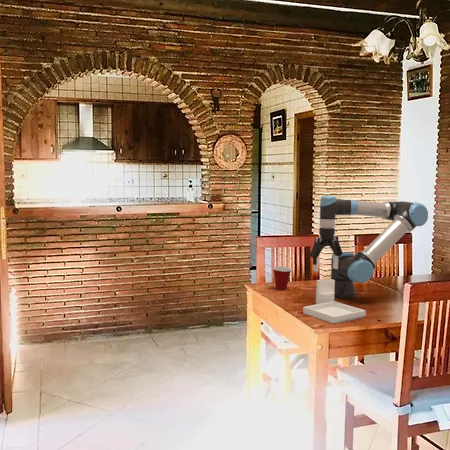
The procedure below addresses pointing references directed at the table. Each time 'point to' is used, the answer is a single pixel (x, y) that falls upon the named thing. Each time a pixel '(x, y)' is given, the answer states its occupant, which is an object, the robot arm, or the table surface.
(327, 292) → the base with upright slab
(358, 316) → the tray
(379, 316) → the table surface
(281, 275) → the plastic cup
